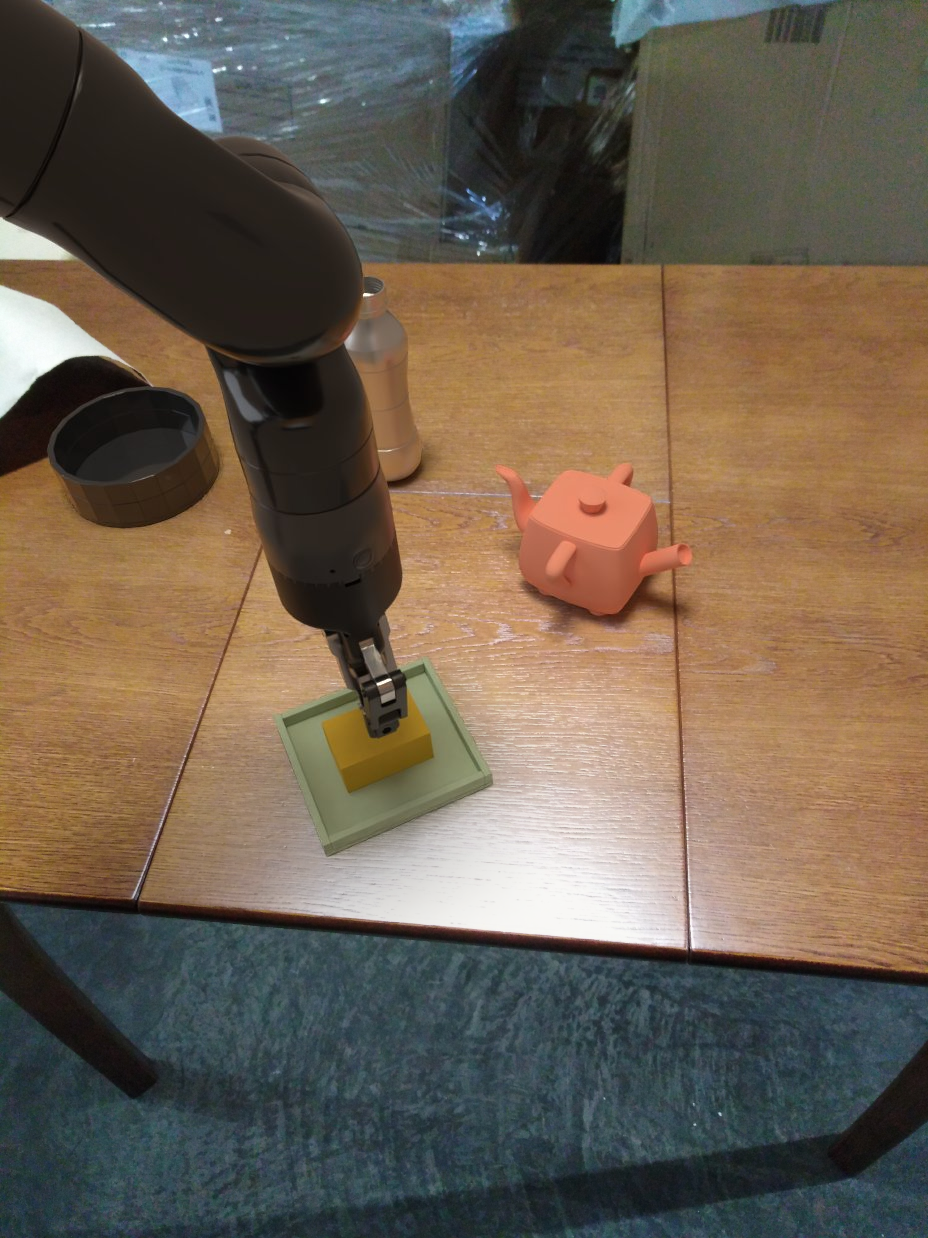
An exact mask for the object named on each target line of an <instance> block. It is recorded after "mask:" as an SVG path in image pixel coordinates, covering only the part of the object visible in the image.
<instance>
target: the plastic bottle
mask: <svg viewBox="0 0 928 1238" xmlns="http://www.w3.org/2000/svg"><path fill="white" fill-rule="evenodd" d="M363 281H364V296H363V304H362V308H361V312H360V315H359V318H358V321H357V323H356V325H355V327H354V329H353V331H352V332H351V334H350V335H349V337H348V338H347V339H346V340H345V342H344V344H345V347H346V349H347V351H348V354H349V356H350V357H351V359H352V361H353V363H354V365H355V367H356V369H357V371H358V373H359V375H360V377H361V379H362V382H363V384H364V387H365V390H366V393H367V396H368V400H369V404H370V409H371V414H372V419H373V425H374V431H375V436H376V442H377V448H378V454H379V460H380V464H381V467H382V470H383V473H384V476H385V479H386V482H397V481H401V480H403V479H406V478H407V477H410V476H411V475H412V474H414V472H415V470H416V469H417V468H419V465H420V463H421V462H422V454H423V452H422V451H423V450H422V449H423V443H422V440H421V435H420V433H419V430H418V427H417V425H416V423H415V418H414V415H413V411H412V407H411V402H410V394H409V393H410V392H409V378H408V362H409V339H408V334H407V332H406V330H405V328H404V325H403V324H402V323H401V321H399V320H398V318H397V317H396V316H395V315H394V314H393V313H392V312H391V311H390V310H389V309H388V308H389V303H390V302H389V297H388V296H387V288H386V284H385V282H384V280H383V279H381V278H380V277H377V276H375V275H374V276H373V275H363Z"/></svg>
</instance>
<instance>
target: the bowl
mask: <svg viewBox="0 0 928 1238" xmlns="http://www.w3.org/2000/svg"><path fill="white" fill-rule="evenodd" d="M46 452H47V457H48V462H49V465H50V467H51V468H52V470H53V472H54V475H55V477H56V478H57V480H58V482H59V484H60V485H61V488H62V489H63V491H64V494H65V495H66V496H67V498H68V501H69V502H70V504H71V505H72V506H73V507H74V509H75V510H76V512H77V513H79V515H81V516H82V517H83V518H85V519H86V520H88V521H90V522H91V523H94V524H98V525H101V526H105V527H110V528H137V527H143V526H148V525H153V524H156V523H159V522H163V521H165V520H168V519H170V518H173V517H175V516H178V515H179V514H181V513H182V512H184V511H186V510H188V509H189V508H190V507H192V506H193V505H196V503H198V501H200V500H201V499H202V498H203V497H204V496H205V495H206V494H207V493H208V491H210V489H211V487H212V486H213V485H214V482H215V480H216V479H217V476H218V473H219V468H220V461H219V454H218V450H217V448H216V445H215V441H214V439H213V436H212V433H211V430H210V427H209V424H208V421H207V418H206V416H205V413H204V411H203V409H202V407H201V405H200V403H199V402H197V401H196V400H195V399H194V398H193V397H192V396H190V394H188V393H185V392H182V391H180V390H177V389H174V388H171V387H164V386H163V387H162V386H152V385H148V386H138V387H137V386H136V387H129V388H123V389H119V390H116V391H112V392H109V393H105V394H102V395H99V396H98V397H95V398H93V399H92V400H89V401H88V402H85V403H84V404H83V403H82V404H81V405H80V406H79V407H77V408H76V409H75V410H73V411H72V412H70V413H69V414H68V415H66V416H65V417H64V418H63V419H62V420H61V422H60V423H59V424H58V426H57V427H56V428H55V429H54V431H53V432H52V433H51V435H50V438H49V442H48V445H47V449H46Z"/></svg>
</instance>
